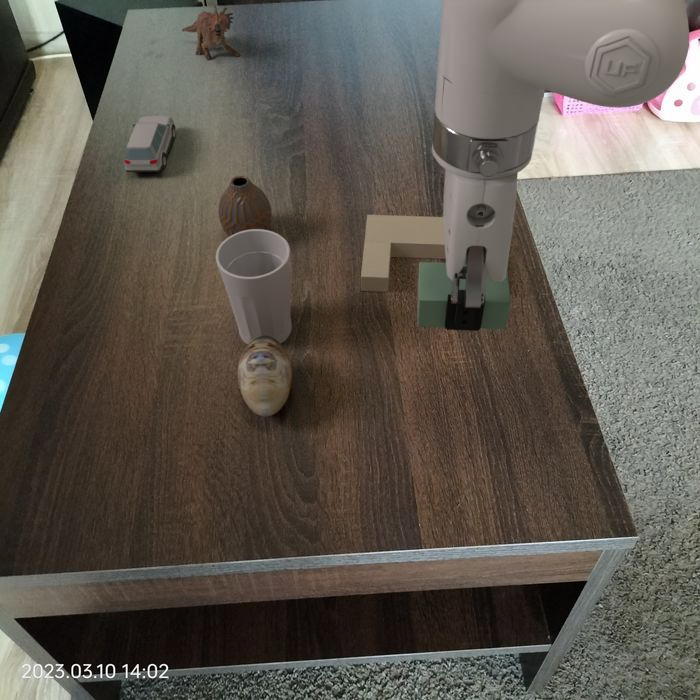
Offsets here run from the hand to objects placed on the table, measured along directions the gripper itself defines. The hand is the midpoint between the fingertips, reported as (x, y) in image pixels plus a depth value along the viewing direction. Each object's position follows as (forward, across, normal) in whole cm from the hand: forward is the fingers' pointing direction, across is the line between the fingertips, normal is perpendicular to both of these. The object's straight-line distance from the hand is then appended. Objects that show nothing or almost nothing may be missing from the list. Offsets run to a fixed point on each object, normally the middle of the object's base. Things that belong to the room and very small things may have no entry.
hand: (461, 303), depth 67 cm
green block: (+1, 0, 0) cm, 1 cm away
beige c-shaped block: (+16, +23, +2) cm, 28 cm away
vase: (+16, +27, +26) cm, 41 cm away
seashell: (+16, 0, +20) cm, 25 cm away
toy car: (+16, +46, +44) cm, 65 cm away
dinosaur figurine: (+16, +78, +40) cm, 89 cm away
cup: (+16, +10, +22) cm, 29 cm away
